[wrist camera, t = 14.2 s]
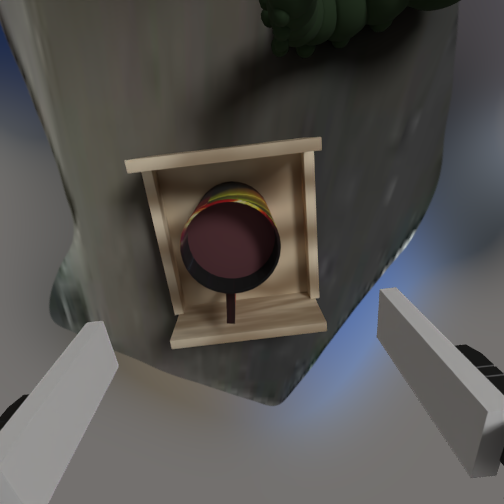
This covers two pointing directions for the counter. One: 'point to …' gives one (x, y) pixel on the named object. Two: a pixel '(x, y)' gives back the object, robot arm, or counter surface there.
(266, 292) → the open wooden box
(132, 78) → the counter surface
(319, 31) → the toy figurine
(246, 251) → the mug
